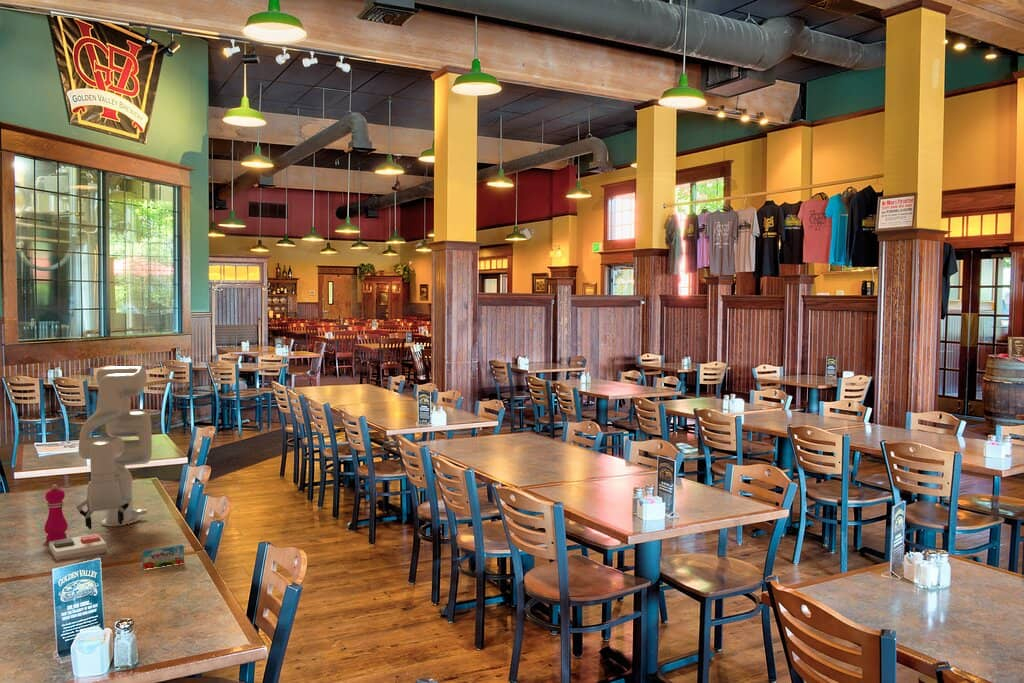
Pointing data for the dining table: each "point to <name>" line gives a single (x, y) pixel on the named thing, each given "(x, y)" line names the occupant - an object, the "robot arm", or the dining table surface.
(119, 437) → the robot arm
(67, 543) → the button black
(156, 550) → the blue printed product box
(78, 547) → the switch panel
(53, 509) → the pepper mill
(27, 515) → the dining table surface
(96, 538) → the button red
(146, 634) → the dining table surface
